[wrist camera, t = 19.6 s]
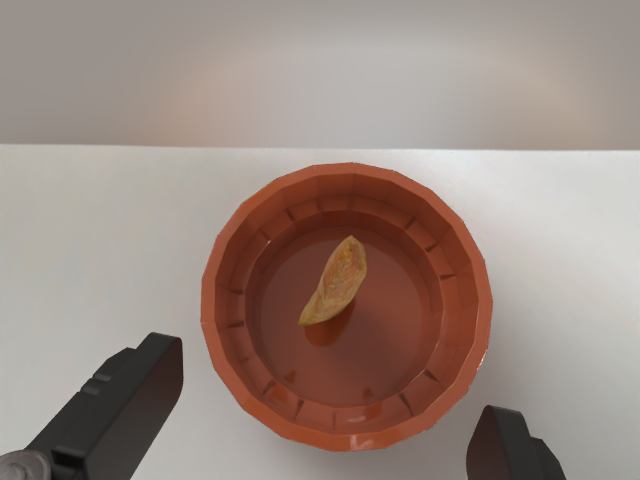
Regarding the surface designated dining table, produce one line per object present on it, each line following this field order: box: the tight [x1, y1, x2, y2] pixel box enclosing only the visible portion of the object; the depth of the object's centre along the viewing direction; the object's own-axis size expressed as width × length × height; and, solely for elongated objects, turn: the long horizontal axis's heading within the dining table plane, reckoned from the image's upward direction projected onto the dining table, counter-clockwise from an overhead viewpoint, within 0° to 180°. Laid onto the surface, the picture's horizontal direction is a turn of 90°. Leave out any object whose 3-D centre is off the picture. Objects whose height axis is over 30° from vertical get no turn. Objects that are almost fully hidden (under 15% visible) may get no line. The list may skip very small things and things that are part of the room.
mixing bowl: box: [200, 162, 493, 452], centre depth 27 cm, size 17×17×7 cm
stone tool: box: [298, 235, 367, 327], centre depth 22 cm, size 5×2×15 cm, turn 142°
